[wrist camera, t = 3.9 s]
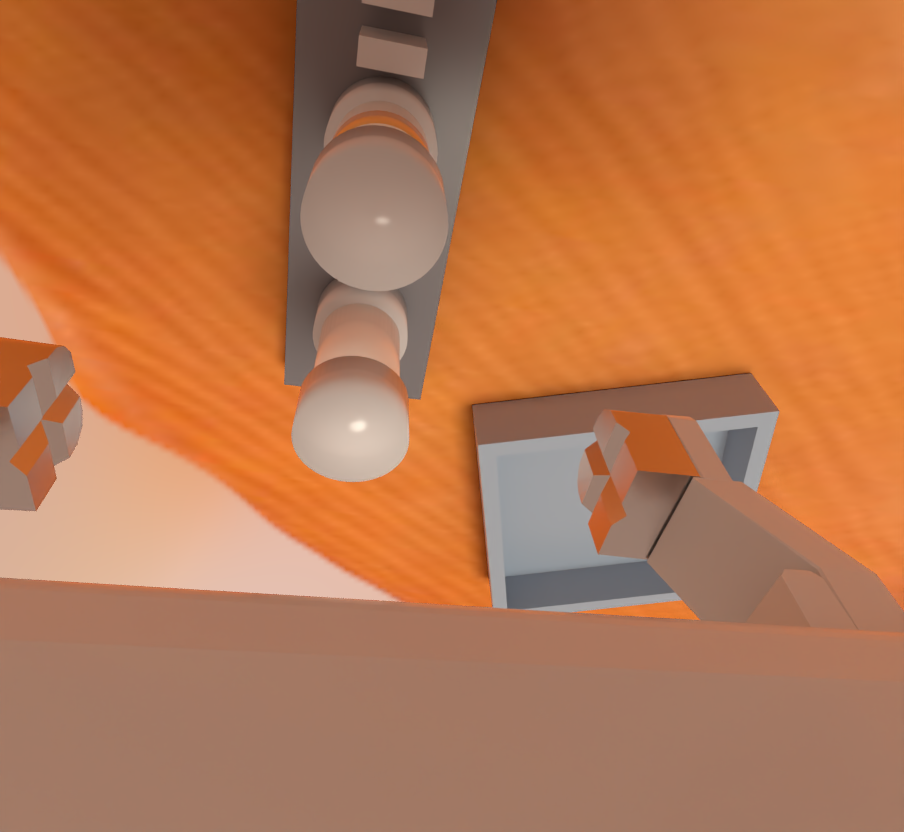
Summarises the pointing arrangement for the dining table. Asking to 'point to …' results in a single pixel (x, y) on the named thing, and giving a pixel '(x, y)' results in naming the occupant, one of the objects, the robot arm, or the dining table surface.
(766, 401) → the tray
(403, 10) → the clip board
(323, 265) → the cream orange rounded cylinder
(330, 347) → the rounded cream knob
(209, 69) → the dining table surface
